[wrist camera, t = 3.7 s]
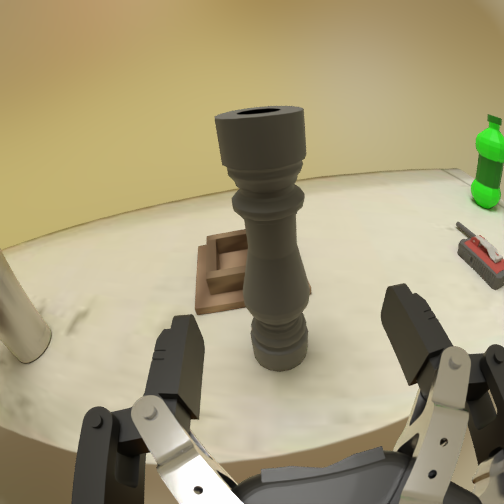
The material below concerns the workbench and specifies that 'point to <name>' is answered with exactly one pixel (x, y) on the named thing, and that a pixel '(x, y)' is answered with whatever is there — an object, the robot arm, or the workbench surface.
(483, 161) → the plastic bottle
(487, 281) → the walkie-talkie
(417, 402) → the robot arm
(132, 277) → the workbench surface
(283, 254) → the candle holder
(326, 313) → the workbench surface
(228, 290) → the walnut socket base
